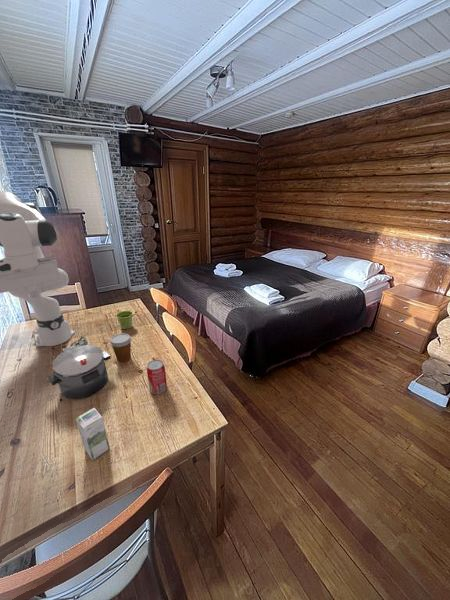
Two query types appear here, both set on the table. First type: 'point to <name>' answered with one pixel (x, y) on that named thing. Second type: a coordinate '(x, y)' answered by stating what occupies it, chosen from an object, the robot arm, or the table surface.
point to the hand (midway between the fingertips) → (34, 296)
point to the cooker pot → (82, 382)
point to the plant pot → (125, 319)
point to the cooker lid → (77, 360)
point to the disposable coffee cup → (121, 347)
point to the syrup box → (93, 433)
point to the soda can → (156, 376)
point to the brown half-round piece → (80, 342)
